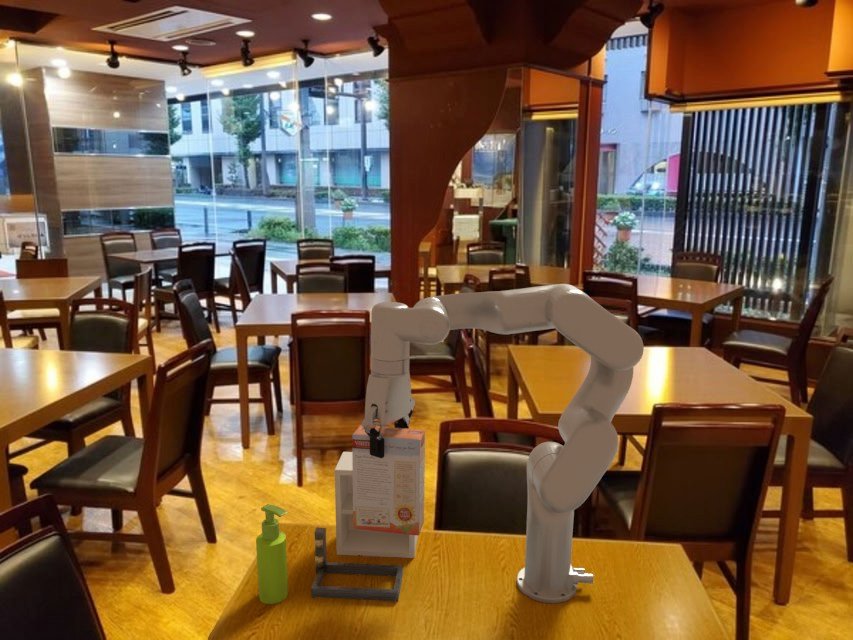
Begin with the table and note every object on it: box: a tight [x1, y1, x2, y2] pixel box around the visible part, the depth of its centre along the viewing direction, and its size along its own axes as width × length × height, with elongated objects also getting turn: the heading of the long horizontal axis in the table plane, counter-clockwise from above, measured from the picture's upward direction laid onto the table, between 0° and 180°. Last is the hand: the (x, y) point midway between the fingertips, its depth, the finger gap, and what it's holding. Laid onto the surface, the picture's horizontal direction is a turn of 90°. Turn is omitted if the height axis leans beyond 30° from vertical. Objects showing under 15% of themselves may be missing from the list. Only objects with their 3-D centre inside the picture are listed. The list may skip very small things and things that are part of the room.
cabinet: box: [334, 451, 419, 559], centre depth 149 cm, size 18×10×21 cm, turn 86°
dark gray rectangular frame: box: [310, 526, 404, 602], centre depth 135 cm, size 19×10×10 cm, turn 86°
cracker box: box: [351, 424, 426, 536], centre depth 130 cm, size 14×6×21 cm, turn 79°
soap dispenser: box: [255, 503, 289, 605], centre depth 130 cm, size 6×7×20 cm
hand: (389, 448), depth 129 cm, fingers closed on cracker box, 7 cm apart
